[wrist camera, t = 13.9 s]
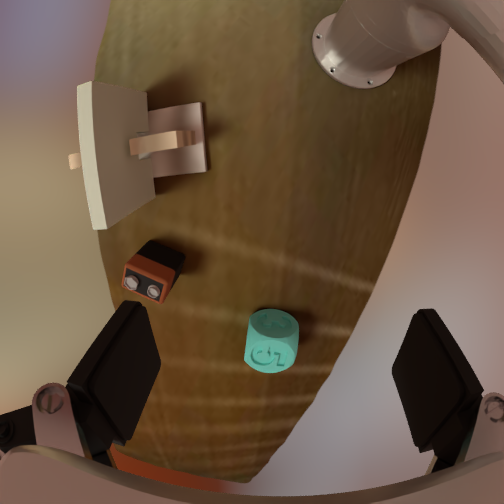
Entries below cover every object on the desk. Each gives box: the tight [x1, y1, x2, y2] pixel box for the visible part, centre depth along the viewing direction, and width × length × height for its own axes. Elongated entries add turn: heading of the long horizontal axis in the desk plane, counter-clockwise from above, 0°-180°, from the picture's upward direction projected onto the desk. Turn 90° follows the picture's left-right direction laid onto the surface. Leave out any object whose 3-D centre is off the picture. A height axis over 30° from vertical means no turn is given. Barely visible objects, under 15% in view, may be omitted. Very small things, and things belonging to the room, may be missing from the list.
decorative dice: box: [244, 309, 299, 373], centre depth 45 cm, size 8×8×8 cm
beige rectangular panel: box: [77, 81, 156, 230], centre depth 30 cm, size 2×16×14 cm, turn 3°
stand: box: [69, 102, 208, 178], centre depth 33 cm, size 18×10×9 cm, turn 94°
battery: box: [122, 240, 185, 304], centre depth 40 cm, size 4×7×10 cm, turn 68°
